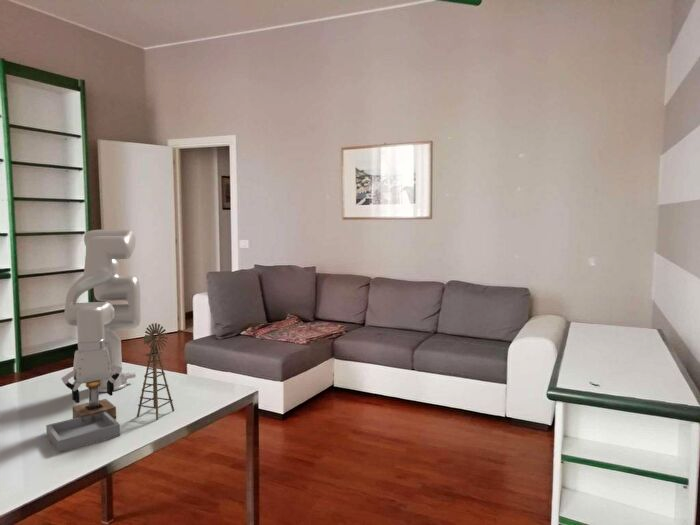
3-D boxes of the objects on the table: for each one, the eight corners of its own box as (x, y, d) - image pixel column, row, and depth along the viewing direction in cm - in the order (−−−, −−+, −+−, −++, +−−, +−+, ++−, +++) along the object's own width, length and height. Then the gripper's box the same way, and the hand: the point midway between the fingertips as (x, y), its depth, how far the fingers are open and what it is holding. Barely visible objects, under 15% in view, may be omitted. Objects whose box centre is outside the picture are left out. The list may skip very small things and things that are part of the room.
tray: (105, 421, 152) (104, 410, 152) (120, 435, 142) (119, 424, 142) (46, 436, 141) (46, 425, 141) (58, 452, 131) (57, 441, 131)
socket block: (106, 410, 161) (105, 398, 161) (116, 419, 154) (115, 407, 153) (72, 418, 154) (72, 406, 154) (81, 428, 147) (81, 415, 147)
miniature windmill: (175, 410, 161) (173, 322, 158) (158, 420, 153) (155, 327, 150) (153, 407, 164) (151, 320, 161) (135, 416, 156) (132, 325, 153)
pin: (99, 415, 157) (98, 377, 156) (103, 419, 154) (102, 381, 153) (85, 418, 154) (83, 380, 153) (89, 422, 151) (87, 383, 150)
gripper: (116, 338, 161) (118, 388, 162) (57, 347, 149) (59, 401, 150) (124, 343, 155) (126, 394, 157) (63, 352, 143) (66, 408, 145)
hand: (93, 398), depth 153 cm, fingers open, 9 cm apart
